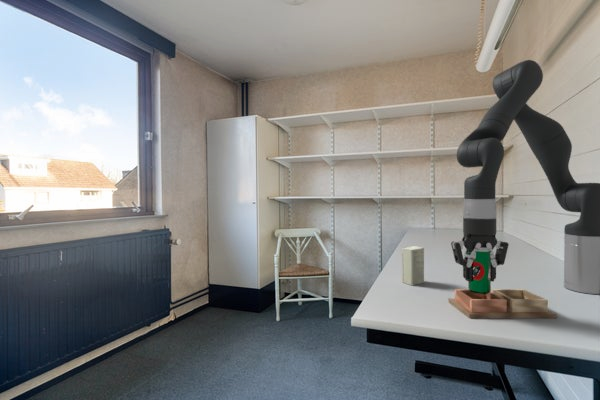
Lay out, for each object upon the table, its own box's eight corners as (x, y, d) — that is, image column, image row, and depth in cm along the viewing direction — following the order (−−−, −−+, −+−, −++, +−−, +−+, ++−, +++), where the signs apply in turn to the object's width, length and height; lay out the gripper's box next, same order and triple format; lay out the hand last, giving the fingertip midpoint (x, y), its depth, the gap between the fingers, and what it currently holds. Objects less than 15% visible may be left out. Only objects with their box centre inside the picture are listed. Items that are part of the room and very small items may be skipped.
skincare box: (414, 279, 108) (414, 245, 107) (424, 283, 104) (424, 247, 104) (401, 282, 105) (401, 247, 104) (411, 286, 101) (411, 249, 100)
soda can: (494, 295, 77) (494, 248, 77) (472, 294, 78) (472, 247, 78) (486, 289, 82) (486, 244, 82) (465, 288, 83) (465, 244, 83)
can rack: (524, 301, 85) (524, 287, 85) (556, 318, 74) (556, 301, 74) (448, 302, 86) (448, 287, 86) (469, 318, 75) (469, 302, 75)
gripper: (498, 214, 83) (498, 276, 84) (445, 215, 83) (445, 277, 84) (517, 217, 76) (516, 285, 76) (458, 217, 76) (458, 285, 76)
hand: (479, 280), depth 80 cm, fingers closed on soda can, 5 cm apart
